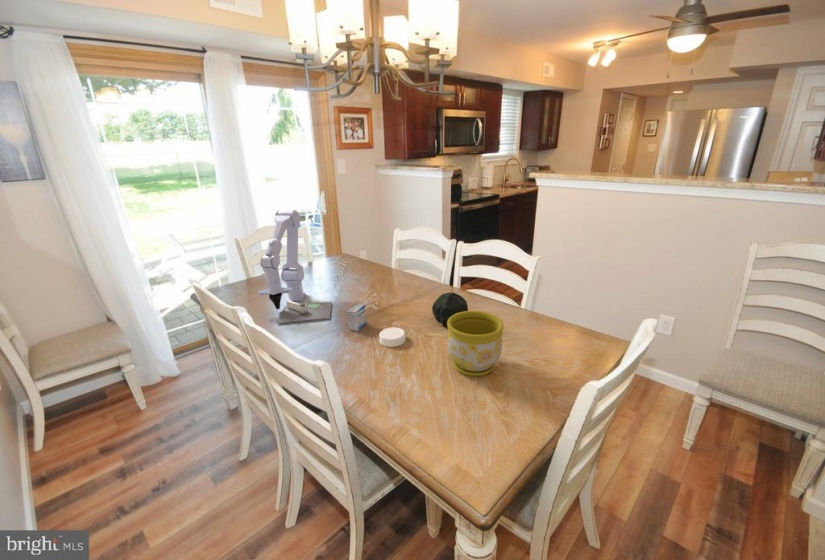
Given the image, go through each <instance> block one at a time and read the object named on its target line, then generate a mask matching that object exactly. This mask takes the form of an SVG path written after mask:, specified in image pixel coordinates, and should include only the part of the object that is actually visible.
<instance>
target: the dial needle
mask: <svg viewBox="0 0 825 560" xmlns="http://www.w3.org/2000/svg"><path fill="white" fill-rule="evenodd" d="M285 302H286V306H287V307H289V308H292V309H294V310H297V311H299V314H306V313H307V312H308V308H307V304H308V303H299V302H296V301H289V300H288V301H287V300H286V301H285Z"/></svg>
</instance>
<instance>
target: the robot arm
mask: <svg viewBox="0 0 825 560" xmlns="http://www.w3.org/2000/svg"><path fill="white" fill-rule="evenodd" d="M274 222H275V227H274V231H273V236H272V239H270V240H269V241H268V245H267V247H266V250H265V253H264V255H263V256H262V257H261V258H260V260H259V261H260V262H259V265H260V266H261V268H262V270H263V272H264V275H265V280H266V285H267V289H262V290H258V292H257V295H258V296H259V297H261V296H268V298H269V300H270V301H271V302H272V304H273V305H274V306H275V310H280V309H281V301H282V296H283V294H287V296H288V297H287V299H286V301H288V300H289V301H292V302H298V301H299V302H300V300H301V301H304V300H305V295H306V292H304V289H303V280H304V279H305V272H304V266H303V265H302V264H301V263H299V261H298V260H299V228H300V225H301V216H300V214H299V212H298V211H297V210H296V209H292V210H284V209H283V210H281V209H278V210H276V211H275V214H274ZM285 232H286V262H285V264H283V265H282V267H281V268H282V269H281V272H280V273H279V266H280V264H281V256H280V254H281V251H282V248H283V244H282V239H283V237H284V235H285ZM280 277H281V278H280ZM281 279H282V281H284V284H286V287H282V284H281Z"/></svg>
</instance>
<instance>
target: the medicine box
mask: <svg viewBox="0 0 825 560" xmlns="http://www.w3.org/2000/svg"><path fill="white" fill-rule="evenodd" d="M346 314H347V322H348V325H347V326H348V330H349V331H354V332H355V331H356V332H358V331H360V330H361V328H362V327H364V326H365V325H366V324H367V313H366V305H365V304H362V303H361V304H360V303H356V304H354V305H353V306H352V307H350V308H349V309H348V310H347V311H346Z"/></svg>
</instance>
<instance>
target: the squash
mask: <svg viewBox="0 0 825 560" xmlns="http://www.w3.org/2000/svg"><path fill="white" fill-rule="evenodd" d="M431 311H432V315H433V316H434V318H435V320H436V322H438V323H441V324H443V325H445V324H446V325H447V321H448V319H449V318H450V317H451V316H452V315H454V314H456V313H459V312H464V311H469V308H468V301H466V299H465V298H464V297H463V296H462V295H460V294H457V293H455V292H447V293H442V294H441V295H439V296H438V298H436V299H435V300H434V302H433V304H432V306H431Z"/></svg>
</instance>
